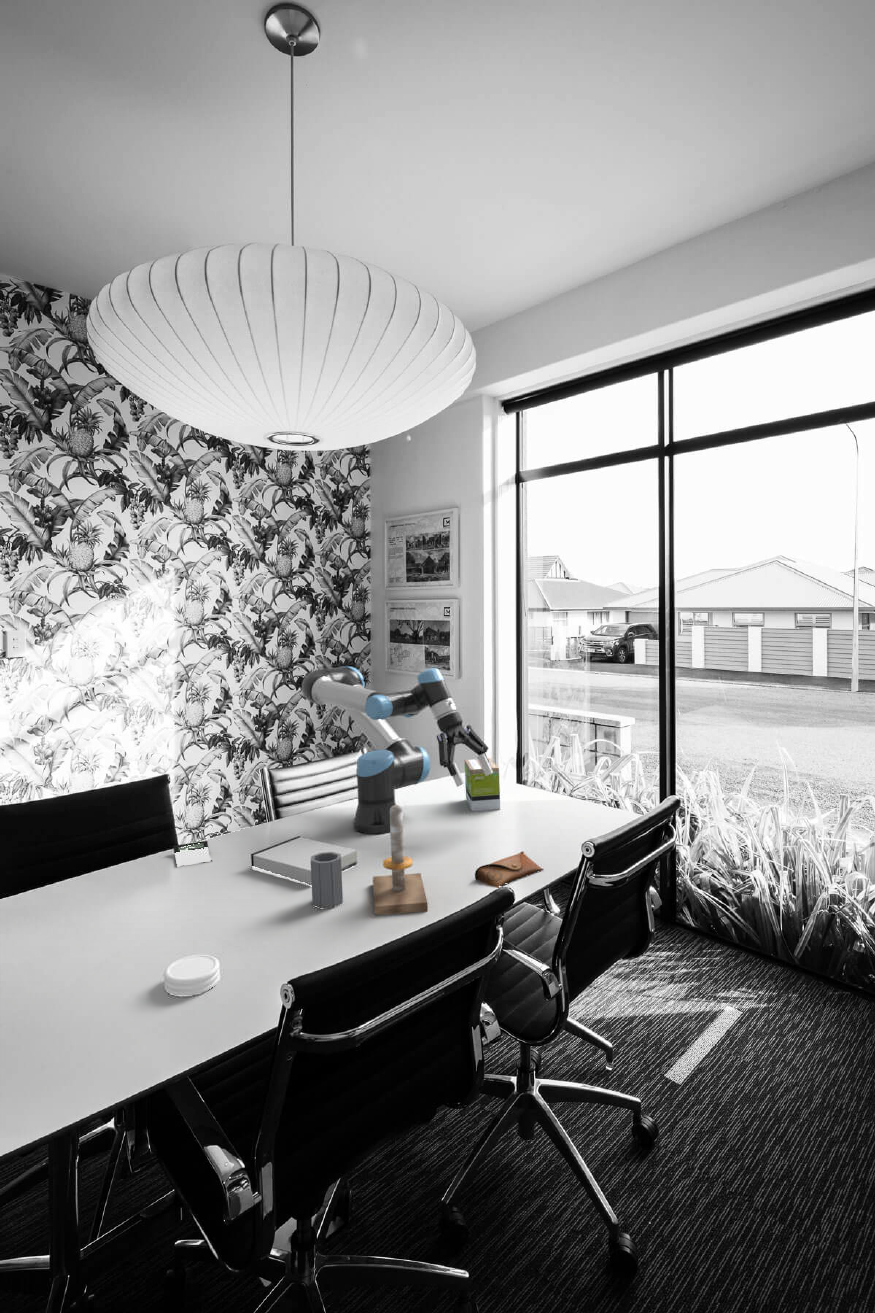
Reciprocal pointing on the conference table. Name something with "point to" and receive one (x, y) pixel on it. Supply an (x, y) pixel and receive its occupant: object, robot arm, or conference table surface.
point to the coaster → (192, 975)
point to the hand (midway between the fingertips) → (475, 779)
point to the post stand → (398, 876)
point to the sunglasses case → (506, 870)
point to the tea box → (482, 786)
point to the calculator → (196, 845)
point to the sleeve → (326, 879)
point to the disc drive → (298, 858)
